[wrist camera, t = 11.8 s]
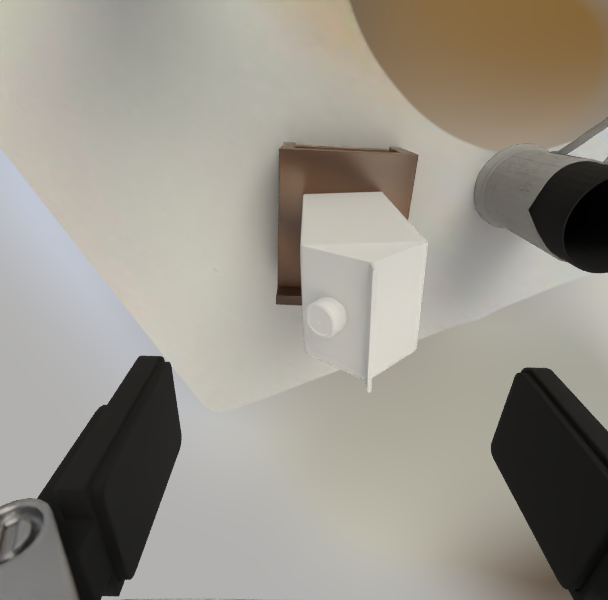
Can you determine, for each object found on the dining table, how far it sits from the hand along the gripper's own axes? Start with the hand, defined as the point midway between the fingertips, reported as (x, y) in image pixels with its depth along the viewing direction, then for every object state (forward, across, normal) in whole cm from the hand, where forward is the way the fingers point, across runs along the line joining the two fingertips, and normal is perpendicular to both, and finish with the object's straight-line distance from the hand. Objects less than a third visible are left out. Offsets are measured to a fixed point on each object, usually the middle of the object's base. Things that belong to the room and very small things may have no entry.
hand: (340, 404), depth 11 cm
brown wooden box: (+34, -3, +3) cm, 35 cm away
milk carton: (+27, -3, +3) cm, 28 cm away
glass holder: (+34, -23, -2) cm, 41 cm away
